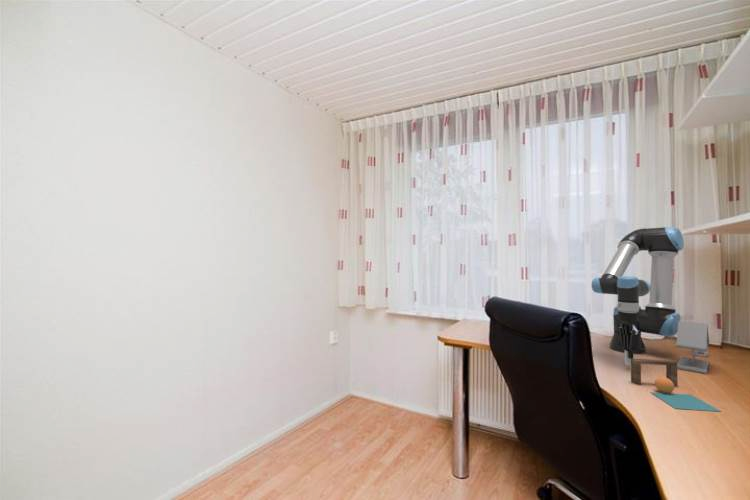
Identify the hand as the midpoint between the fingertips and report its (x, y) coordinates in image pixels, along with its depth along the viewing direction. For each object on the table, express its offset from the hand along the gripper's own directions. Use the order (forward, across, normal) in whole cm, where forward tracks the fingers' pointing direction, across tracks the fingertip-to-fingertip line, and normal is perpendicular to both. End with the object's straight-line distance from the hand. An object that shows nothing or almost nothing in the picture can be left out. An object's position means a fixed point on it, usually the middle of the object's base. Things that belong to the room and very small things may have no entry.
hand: (629, 364), depth 149 cm
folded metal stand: (+2, -8, +30) cm, 31 cm away
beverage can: (+2, -28, +46) cm, 54 cm away
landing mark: (+2, +33, 0) cm, 33 cm away
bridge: (+2, +17, 0) cm, 17 cm away
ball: (-1, +25, -1) cm, 25 cm away
